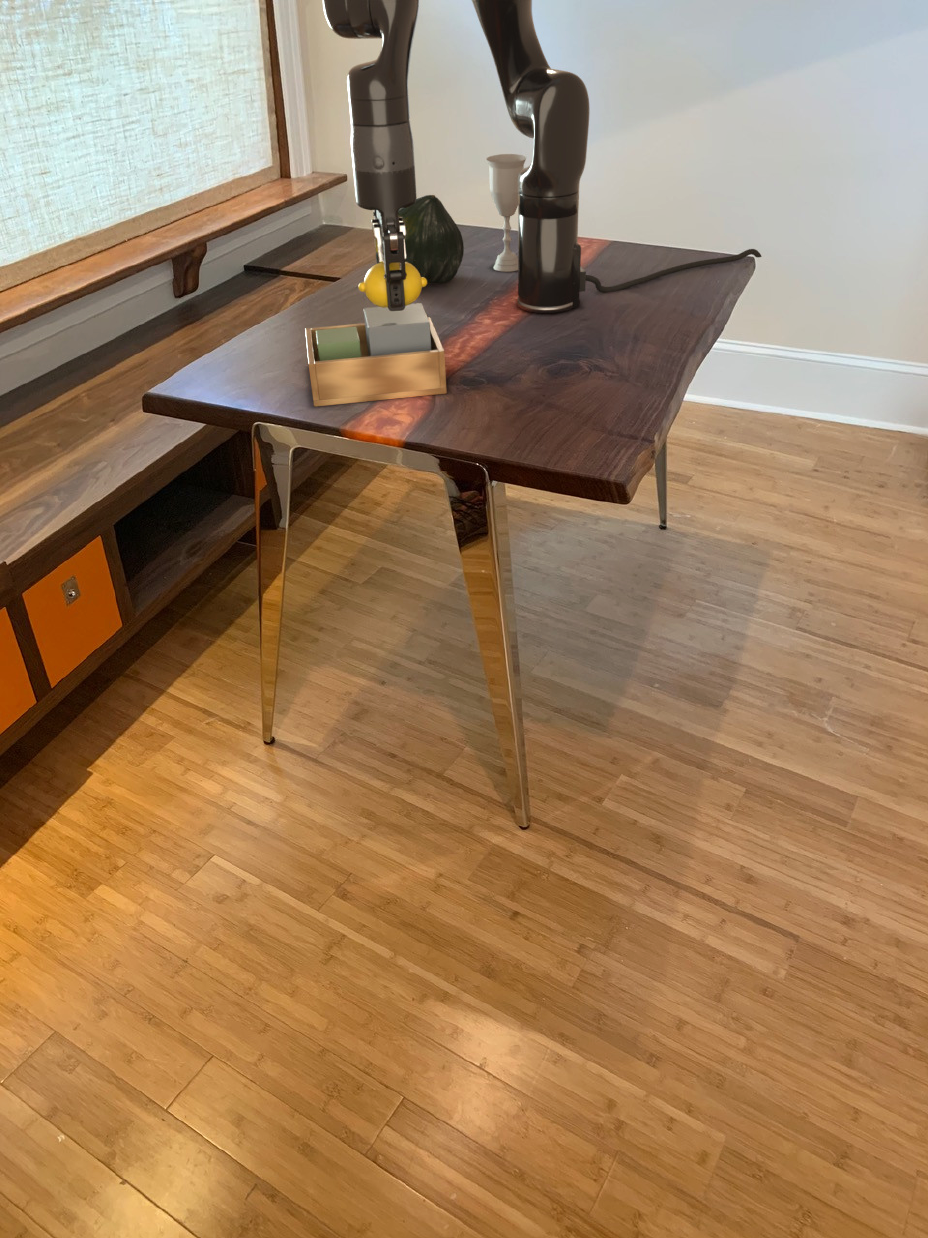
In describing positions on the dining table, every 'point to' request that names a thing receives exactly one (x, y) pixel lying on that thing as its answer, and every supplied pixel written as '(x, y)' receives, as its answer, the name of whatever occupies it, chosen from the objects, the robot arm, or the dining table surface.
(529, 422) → the dining table surface
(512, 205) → the chalice
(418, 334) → the block grey
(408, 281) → the lemon
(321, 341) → the block sage
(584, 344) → the dining table surface
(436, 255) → the squash
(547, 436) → the dining table surface
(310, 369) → the crate
